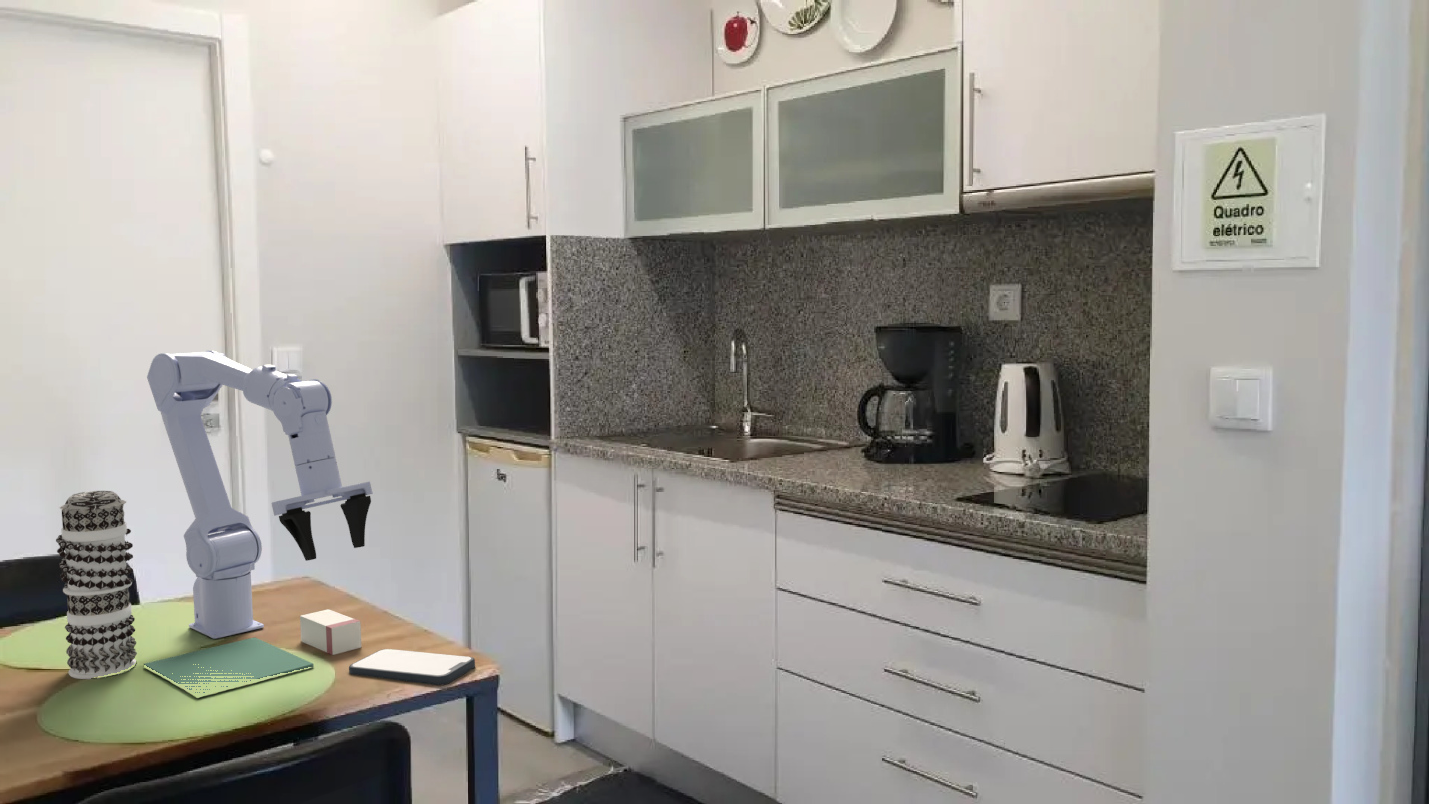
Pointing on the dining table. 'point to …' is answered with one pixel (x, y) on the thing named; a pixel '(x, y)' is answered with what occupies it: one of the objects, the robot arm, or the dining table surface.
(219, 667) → the card mat
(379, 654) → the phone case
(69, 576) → the decorative candle
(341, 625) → the card deck
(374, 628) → the dining table surface
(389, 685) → the dining table surface
